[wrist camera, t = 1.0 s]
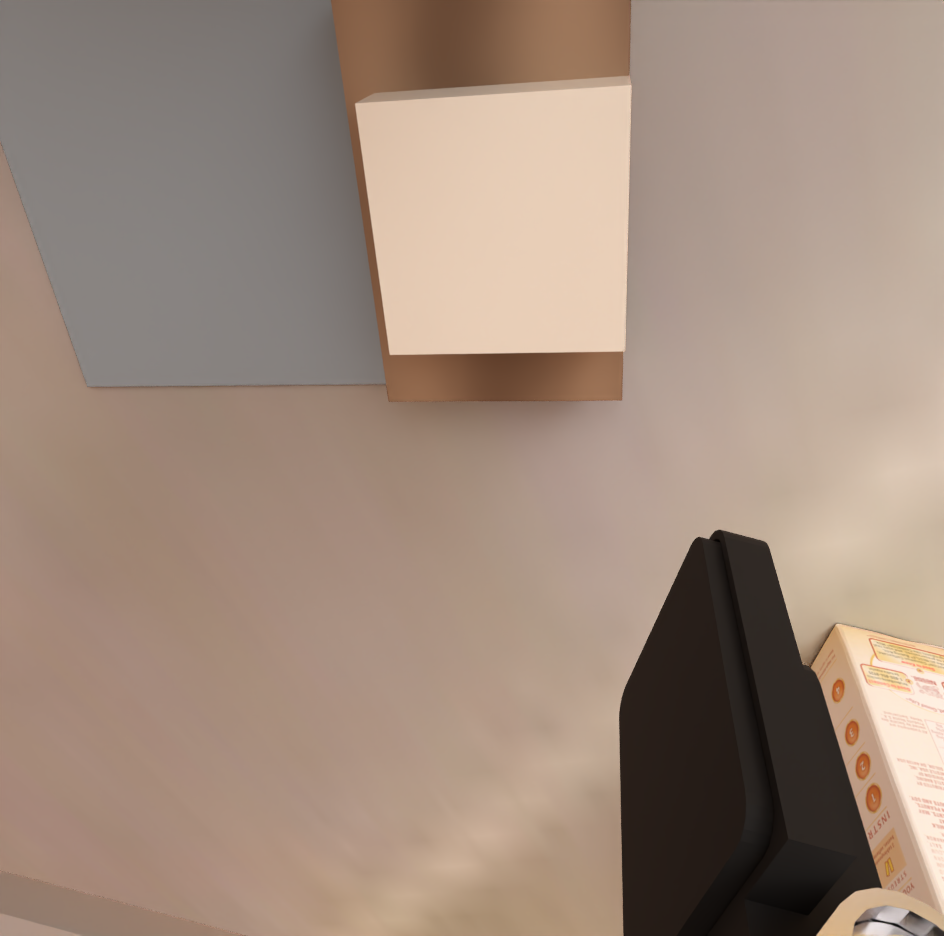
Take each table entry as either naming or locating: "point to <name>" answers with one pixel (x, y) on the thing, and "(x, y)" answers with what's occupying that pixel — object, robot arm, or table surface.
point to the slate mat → (192, 188)
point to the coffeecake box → (892, 750)
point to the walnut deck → (464, 65)
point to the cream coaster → (501, 215)
